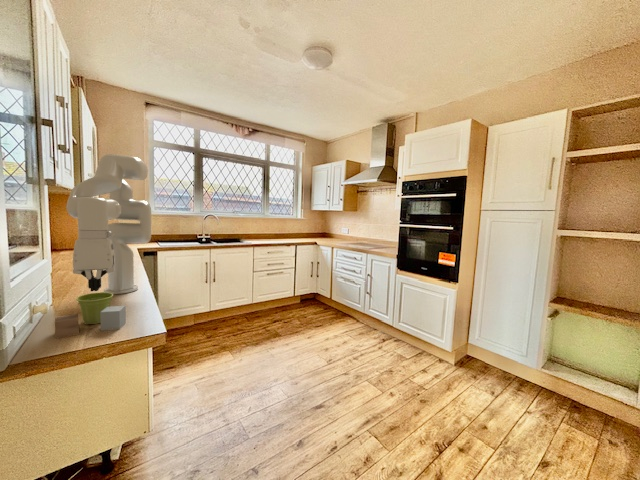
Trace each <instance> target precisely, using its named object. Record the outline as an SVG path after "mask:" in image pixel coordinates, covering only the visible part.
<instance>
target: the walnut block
mask: <svg viewBox="0 0 640 480" xmlns="http://www.w3.org/2000/svg"><path fill="white" fill-rule="evenodd" d="M79 323H80V321H79V313H72V314H65V315H60V316H59V315H58V316H55V320H54V334H55V339H60V338H67V337H72V336H77V335H79V334H80V332H79V331H80V327H79Z"/></svg>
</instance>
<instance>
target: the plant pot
mask: <svg viewBox="0 0 640 480" xmlns="http://www.w3.org/2000/svg"><path fill="white" fill-rule="evenodd" d="M113 297H114V294H112V293H107V292H104V291H103V292H91V293H90V292H89V293H87V294H82V295H79V296H77V297H76V298H75V299H76V301H77V302H78V305H79V307H80V312H81V315H82V321H83V324H85V325H98V324H101V318H100V312H101V311H102V310H104V309H105V308H107V307H110V306H111V305H110V304H111V301H112V298H113Z"/></svg>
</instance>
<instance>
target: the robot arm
mask: <svg viewBox="0 0 640 480" xmlns="http://www.w3.org/2000/svg"><path fill="white" fill-rule="evenodd" d="M148 171H149V170H148V166H147V164H146V163H145V162H144V161H143V160H142V159H140V158H138V157H136V156H131V155H130V156H129V155H122V154H113V153H112V154H104V155H102V156H101V157H100V159H99V161H98V164H97V167H96V170H95V173H94V176H92V177H90V178H89V177H88V178H87V179H85V180H83V181H81V182H79V183H77V184H76V185H75V186H73V188H72V189H71V191H70V193H69V196H68V198H67V202H66V212H67V214H68V215H69V216H70V217H72V218H73V219H77V229H78V230H77V235H78V236H77V237H78V239H75V241H74V246H73V251H72V252H73V253H72V254H73V255H72V269H73V270H72V274H75V275H82V276H83V277H85V278H86V280H88V281H87V282H88V283H87V284H88V286H87V287H88V289H90V292H99V290H100V289H101V288H102V277H104V276H105V275H106V274H108V275H107V280H108V281H107V283H108V284H107V285H108V286H107V287H106V288H104V289H103V292H107V293H112V294H113V295H121V294H130V293H132V292H136V291H137V290H138V289H139V286H138V285H135V280H134V279H135V277H134V276H135V275H134V274H135V273H134V272H135V271H134V267H135V266H134V264H135V263H134V262H135V261H134V252H133V250H132V248H131V247H130V246H129V245H128V244H133V245H134V244H147V243H150V241H151V239H152V207H151V205H150V203H149V202H148V201H146V200H140V199H139V200H137V199H136V200H135V199H134V198H133V197H134V196H133V188H132V186H130V184H129V183H128V182H127V181H126V180H134V181H135V180H136V181H145V180H146V179H147V177H148V174H149V173H148ZM101 195H102V196H103V195H109V198H104V197H97V196H101ZM110 220H111V221H113V220H119V221H121V220H122V221H138V222H137V223H136V222H111V223H109V221H110ZM94 271H96V273H95V274H96V275H94Z"/></svg>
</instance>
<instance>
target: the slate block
mask: <svg viewBox="0 0 640 480" xmlns="http://www.w3.org/2000/svg"><path fill="white" fill-rule="evenodd" d="M126 310H127V309H126V305H117V306H116V305H115V306H113V305H110V306H109V307H107V308H105V309H104V310H102V311H101V312H100V318H101V323H100V331H110V330H111V331H113V330H121V329H122V327H124V326H125V324H126V323H127V319H126V318H127V317H126V316H127V314H126V313H127V312H126Z"/></svg>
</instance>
